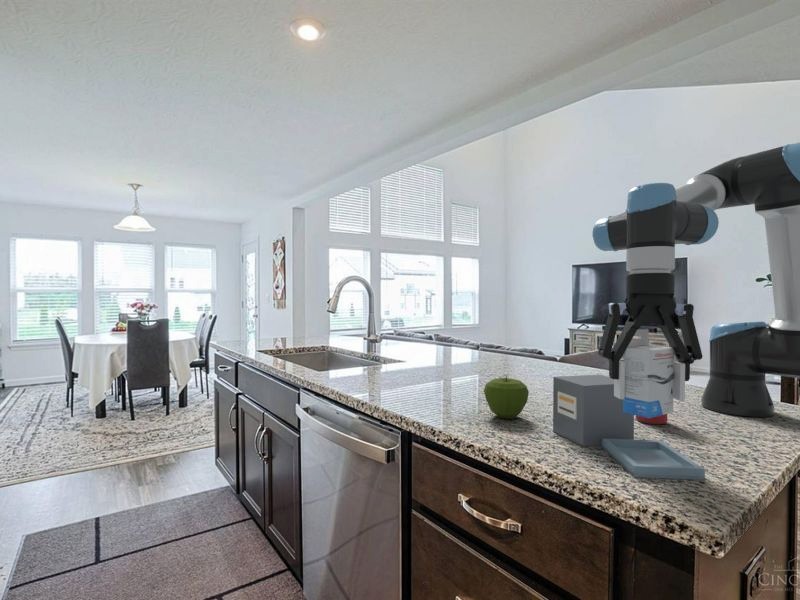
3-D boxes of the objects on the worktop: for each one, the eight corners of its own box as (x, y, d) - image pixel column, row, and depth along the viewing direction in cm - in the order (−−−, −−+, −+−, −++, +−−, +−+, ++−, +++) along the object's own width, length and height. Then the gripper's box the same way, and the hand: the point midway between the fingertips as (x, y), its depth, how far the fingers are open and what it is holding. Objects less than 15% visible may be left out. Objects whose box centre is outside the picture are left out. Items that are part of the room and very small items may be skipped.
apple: (480, 411, 112) (481, 372, 112) (522, 411, 111) (522, 373, 111) (488, 423, 101) (488, 380, 101) (533, 423, 101) (533, 381, 100)
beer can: (663, 419, 105) (663, 369, 105) (670, 426, 99) (671, 374, 99) (633, 416, 107) (633, 368, 107) (638, 424, 101) (638, 372, 101)
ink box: (650, 419, 73) (651, 332, 73) (621, 412, 77) (622, 330, 77) (675, 412, 77) (675, 330, 77) (646, 406, 82) (647, 328, 82)
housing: (600, 427, 98) (600, 374, 98) (634, 441, 88) (635, 383, 88) (551, 431, 95) (552, 376, 95) (581, 446, 85) (582, 385, 85)
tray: (660, 449, 84) (660, 440, 84) (704, 480, 70) (704, 468, 70) (601, 447, 85) (601, 438, 85) (633, 477, 71) (633, 466, 71)
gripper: (702, 274, 80) (701, 395, 80) (579, 273, 82) (578, 392, 82) (729, 271, 72) (728, 405, 72) (593, 271, 74) (591, 401, 74)
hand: (648, 398), depth 77 cm, fingers closed on ink box, 9 cm apart
